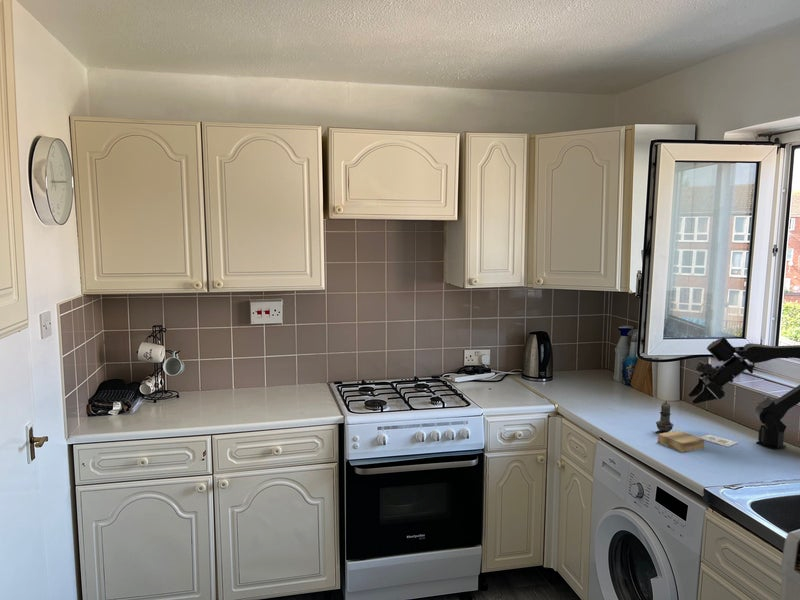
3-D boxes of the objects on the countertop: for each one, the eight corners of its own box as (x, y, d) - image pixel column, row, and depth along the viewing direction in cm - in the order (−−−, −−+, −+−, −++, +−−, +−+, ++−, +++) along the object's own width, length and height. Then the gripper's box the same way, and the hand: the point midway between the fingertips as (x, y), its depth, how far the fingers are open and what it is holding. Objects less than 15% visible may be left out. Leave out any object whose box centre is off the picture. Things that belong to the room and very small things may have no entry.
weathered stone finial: (657, 429, 212) (659, 397, 210) (675, 433, 208) (677, 400, 207) (653, 433, 207) (655, 400, 206) (670, 437, 203) (672, 404, 202)
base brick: (703, 448, 193) (704, 439, 193) (682, 452, 189) (683, 443, 189) (678, 438, 202) (678, 430, 202) (657, 442, 198) (658, 433, 198)
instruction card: (738, 443, 198) (738, 442, 198) (727, 447, 194) (727, 446, 194) (708, 434, 206) (708, 433, 206) (698, 438, 202) (698, 437, 202)
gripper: (706, 348, 209) (671, 376, 214) (716, 358, 191) (677, 388, 196) (729, 372, 207) (693, 399, 212) (741, 384, 189) (701, 413, 194)
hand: (691, 399), depth 203 cm, fingers open, 9 cm apart
